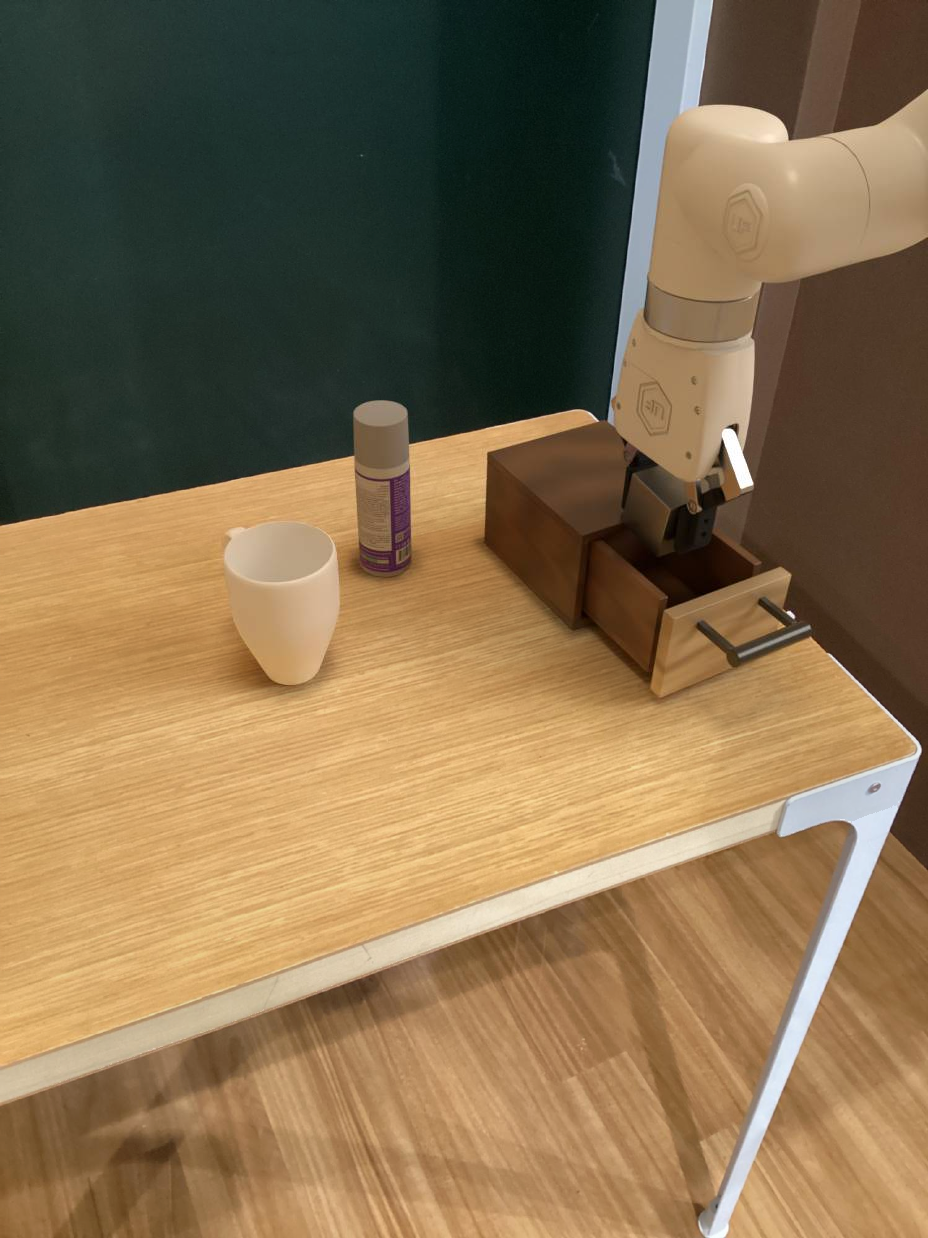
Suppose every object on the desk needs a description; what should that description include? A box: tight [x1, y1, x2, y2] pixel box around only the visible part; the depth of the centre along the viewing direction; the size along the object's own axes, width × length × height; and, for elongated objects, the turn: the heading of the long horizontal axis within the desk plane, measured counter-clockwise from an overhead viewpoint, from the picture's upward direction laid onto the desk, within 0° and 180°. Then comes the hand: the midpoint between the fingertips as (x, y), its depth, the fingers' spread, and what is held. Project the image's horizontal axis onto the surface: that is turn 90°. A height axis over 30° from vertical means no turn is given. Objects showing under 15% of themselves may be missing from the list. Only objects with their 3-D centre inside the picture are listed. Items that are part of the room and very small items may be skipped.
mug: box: [221, 520, 341, 686], centre depth 83 cm, size 12×8×11 cm
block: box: [622, 465, 709, 557], centre depth 83 cm, size 5×5×5 cm
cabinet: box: [483, 419, 629, 631], centre depth 94 cm, size 15×13×10 cm
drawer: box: [582, 525, 813, 699], centre depth 85 cm, size 18×11×8 cm, turn 30°
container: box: [352, 399, 412, 578], centre depth 92 cm, size 5×5×15 cm
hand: (664, 524), depth 84 cm, fingers open, 5 cm apart
